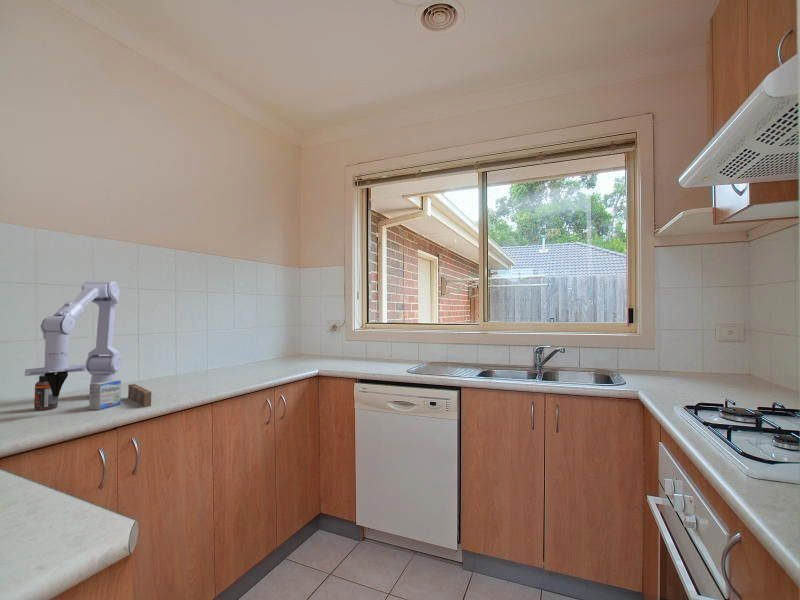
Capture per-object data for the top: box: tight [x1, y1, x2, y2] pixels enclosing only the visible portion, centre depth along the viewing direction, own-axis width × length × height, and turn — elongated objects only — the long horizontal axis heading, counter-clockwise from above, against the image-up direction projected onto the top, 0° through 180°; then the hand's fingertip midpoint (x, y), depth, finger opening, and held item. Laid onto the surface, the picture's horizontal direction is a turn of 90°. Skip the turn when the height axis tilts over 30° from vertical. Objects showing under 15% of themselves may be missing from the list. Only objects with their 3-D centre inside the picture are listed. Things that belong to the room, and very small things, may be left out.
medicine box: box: [88, 379, 122, 411], centre depth 135 cm, size 8×4×9 cm, turn 168°
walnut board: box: [127, 383, 152, 408], centre depth 142 cm, size 20×2×5 cm, turn 48°
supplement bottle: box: [33, 374, 59, 411], centre depth 132 cm, size 6×6×11 cm
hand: (55, 396), depth 125 cm, fingers closed
